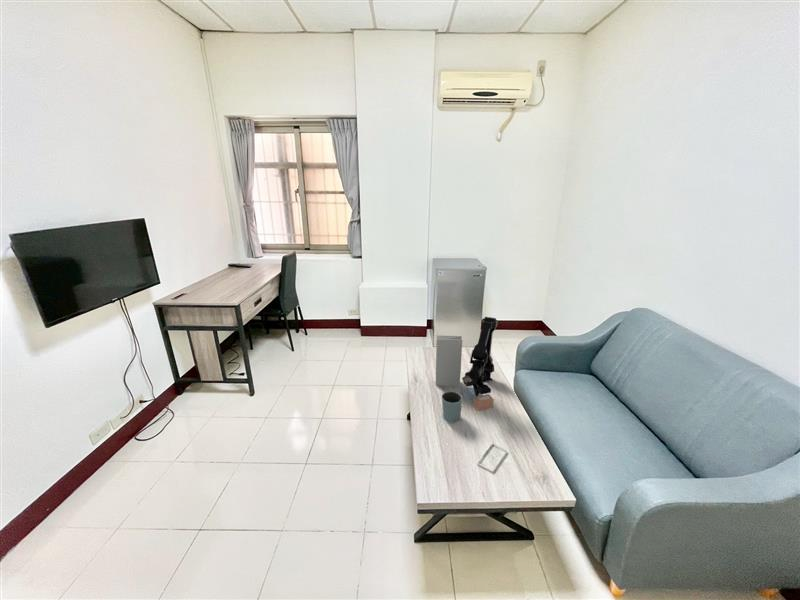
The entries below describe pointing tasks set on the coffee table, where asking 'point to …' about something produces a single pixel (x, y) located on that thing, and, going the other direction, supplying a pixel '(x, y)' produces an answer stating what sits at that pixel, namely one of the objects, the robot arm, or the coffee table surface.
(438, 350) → the tall grey box
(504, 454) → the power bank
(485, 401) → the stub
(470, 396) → the blue book
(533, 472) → the coffee table surface
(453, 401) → the blue-grey cup
